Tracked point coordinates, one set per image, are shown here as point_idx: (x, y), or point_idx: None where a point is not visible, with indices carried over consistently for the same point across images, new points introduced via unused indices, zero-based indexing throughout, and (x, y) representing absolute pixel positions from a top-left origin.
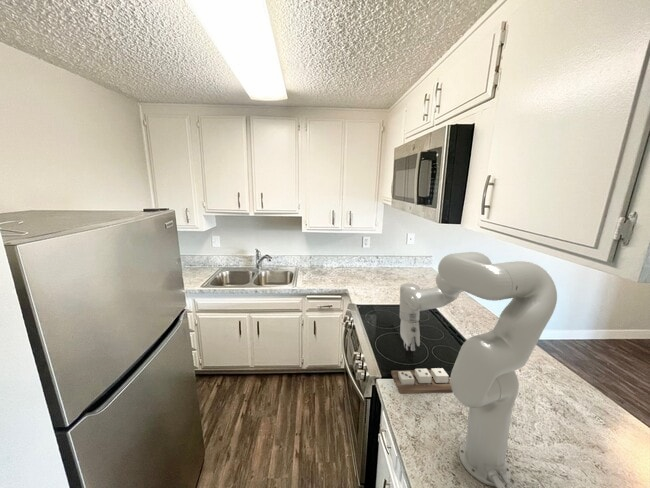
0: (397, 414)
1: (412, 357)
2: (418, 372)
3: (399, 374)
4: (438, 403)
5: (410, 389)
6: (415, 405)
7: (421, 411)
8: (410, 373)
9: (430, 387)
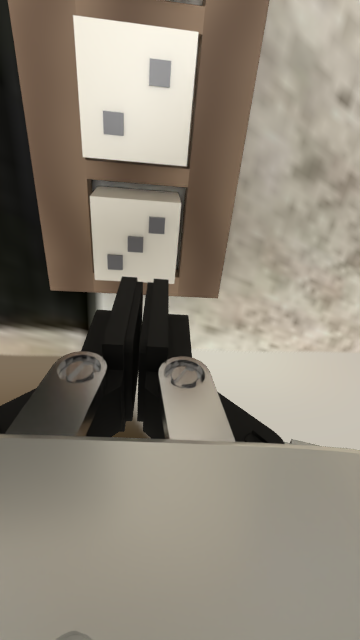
0: (317, 333)
1: (168, 291)
2: (134, 147)
3: (119, 278)
4: (336, 93)
5: (222, 241)
6: (302, 243)
7: (344, 231)
8: (116, 204)
9: (231, 84)
